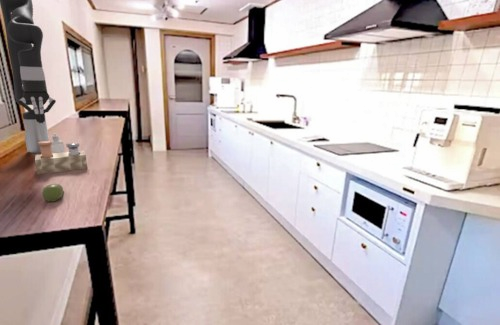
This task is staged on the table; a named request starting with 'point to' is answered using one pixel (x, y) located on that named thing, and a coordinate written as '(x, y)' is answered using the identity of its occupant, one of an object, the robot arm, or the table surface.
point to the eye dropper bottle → (57, 145)
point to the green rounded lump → (52, 192)
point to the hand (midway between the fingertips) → (41, 122)
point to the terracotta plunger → (45, 148)
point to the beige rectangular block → (60, 162)
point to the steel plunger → (73, 148)
